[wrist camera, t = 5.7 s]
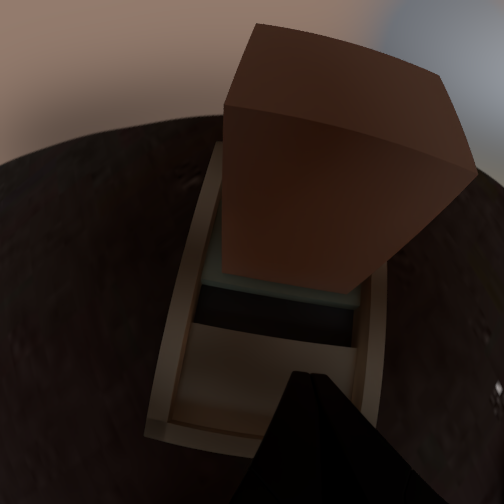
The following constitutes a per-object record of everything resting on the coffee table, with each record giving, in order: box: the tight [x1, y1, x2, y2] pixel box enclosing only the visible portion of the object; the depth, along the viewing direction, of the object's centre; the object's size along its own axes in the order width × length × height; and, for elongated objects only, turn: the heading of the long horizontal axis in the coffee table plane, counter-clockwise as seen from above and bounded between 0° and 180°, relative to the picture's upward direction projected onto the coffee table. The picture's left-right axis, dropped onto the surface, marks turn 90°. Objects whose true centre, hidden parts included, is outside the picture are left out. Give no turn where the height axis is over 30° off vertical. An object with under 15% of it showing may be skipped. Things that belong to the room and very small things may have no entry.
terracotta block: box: [222, 23, 478, 295], centre depth 10 cm, size 4×6×9 cm
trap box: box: [144, 141, 387, 458], centre depth 14 cm, size 14×9×2 cm, turn 171°
